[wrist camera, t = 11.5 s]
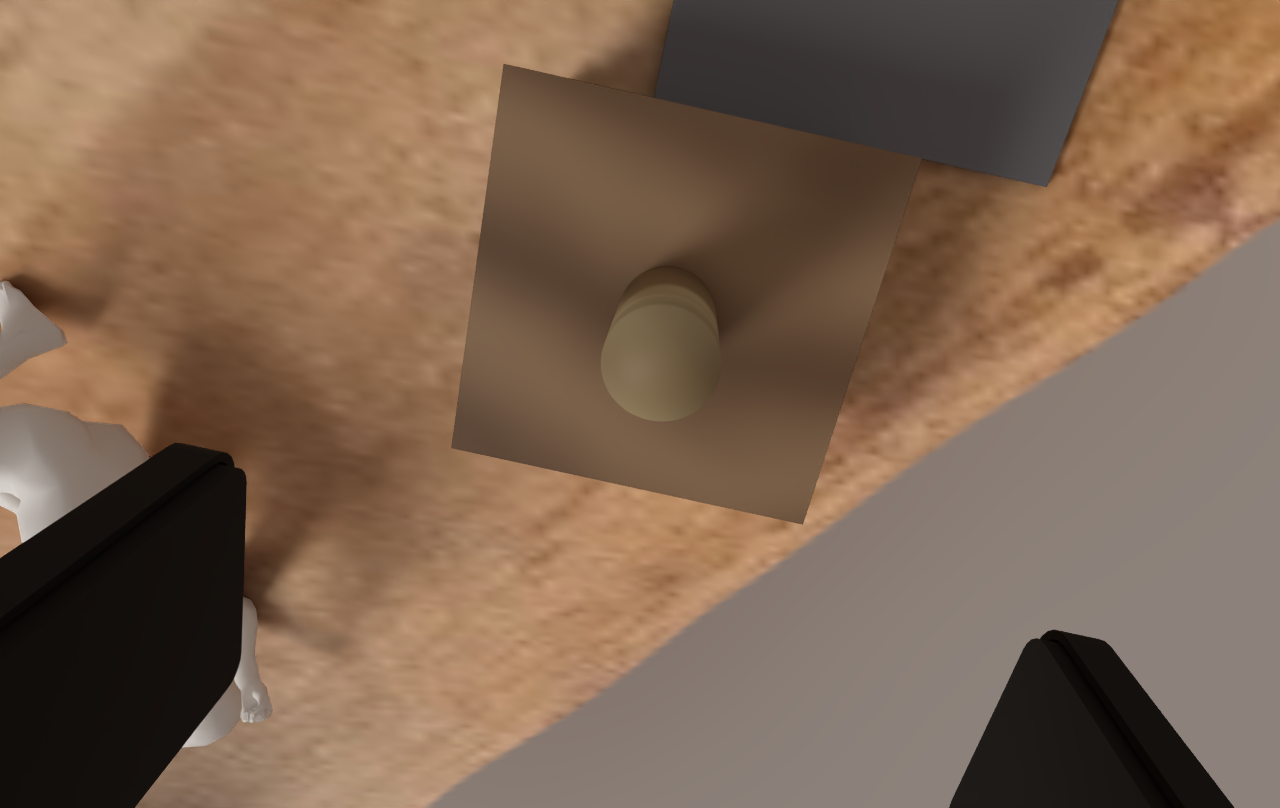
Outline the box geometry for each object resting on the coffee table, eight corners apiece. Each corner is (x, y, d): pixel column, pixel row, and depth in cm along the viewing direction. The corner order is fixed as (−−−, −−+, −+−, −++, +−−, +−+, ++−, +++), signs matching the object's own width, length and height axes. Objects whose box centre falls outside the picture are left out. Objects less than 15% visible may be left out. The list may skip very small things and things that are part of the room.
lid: (511, 65, 23) (453, 53, 18) (912, 156, 23) (982, 172, 18) (459, 436, 27) (399, 521, 22) (799, 510, 28) (826, 613, 22)
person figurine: (-404, 604, 25) (65, 912, 24) (-261, 246, 24) (248, 560, 23) (-20, 514, 38) (296, 713, 37) (89, 279, 36) (423, 480, 35)
